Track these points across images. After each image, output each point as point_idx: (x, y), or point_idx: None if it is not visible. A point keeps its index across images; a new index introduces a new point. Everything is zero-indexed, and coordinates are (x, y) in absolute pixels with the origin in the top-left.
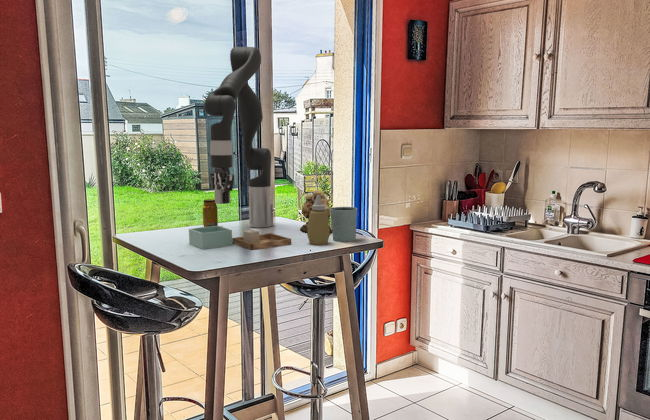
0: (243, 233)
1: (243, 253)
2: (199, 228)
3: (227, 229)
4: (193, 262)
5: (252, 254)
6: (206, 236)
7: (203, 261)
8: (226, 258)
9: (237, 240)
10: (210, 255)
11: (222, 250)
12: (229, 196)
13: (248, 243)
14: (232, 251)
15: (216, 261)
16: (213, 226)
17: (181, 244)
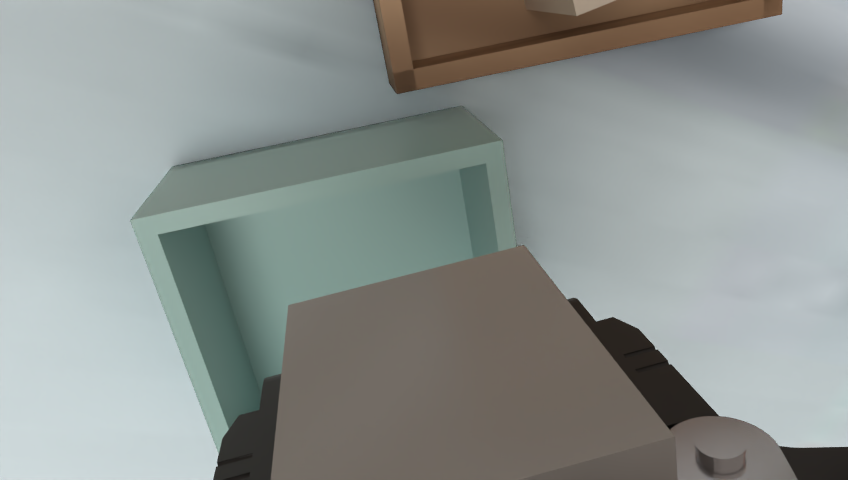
0: (568, 14)
1: (745, 90)
2: (225, 416)
3: (437, 173)
4: (778, 433)
5: (818, 33)
6: None
7: (791, 382)
8: (809, 244)
9: (508, 68)
10: (666, 321)
11: (556, 213)
12: (580, 332)
13: (730, 24)
14: (632, 150)
15: (840, 316)
16: (174, 277)
17: (185, 453)
